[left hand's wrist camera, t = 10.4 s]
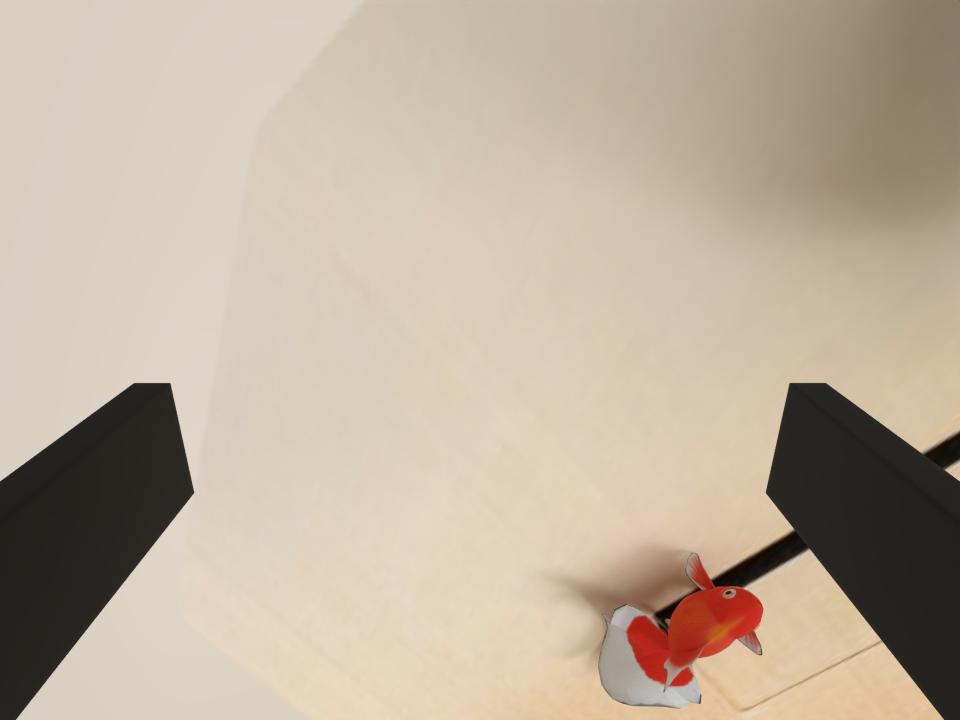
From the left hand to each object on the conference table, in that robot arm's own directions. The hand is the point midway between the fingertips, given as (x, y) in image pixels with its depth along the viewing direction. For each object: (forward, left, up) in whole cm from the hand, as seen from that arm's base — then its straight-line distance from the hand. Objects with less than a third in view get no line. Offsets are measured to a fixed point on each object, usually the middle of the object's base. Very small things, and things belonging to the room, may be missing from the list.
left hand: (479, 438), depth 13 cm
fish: (+32, +13, -27) cm, 44 cm away
